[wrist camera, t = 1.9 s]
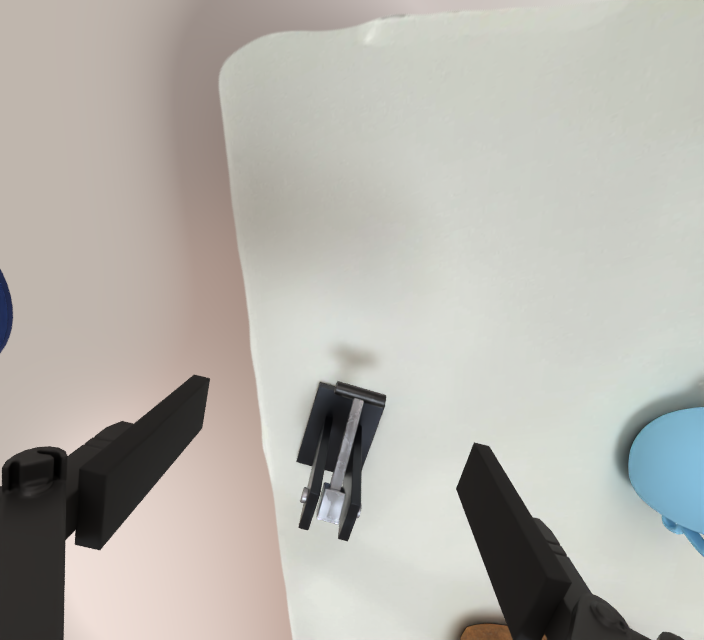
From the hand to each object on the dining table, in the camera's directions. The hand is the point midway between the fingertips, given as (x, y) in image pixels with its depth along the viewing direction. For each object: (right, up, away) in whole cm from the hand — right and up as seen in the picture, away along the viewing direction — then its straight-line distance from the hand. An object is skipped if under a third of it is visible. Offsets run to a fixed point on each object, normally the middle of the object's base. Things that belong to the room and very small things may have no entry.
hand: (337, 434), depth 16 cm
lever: (0, -8, +20) cm, 21 cm away
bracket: (-1, -9, +30) cm, 31 cm away
